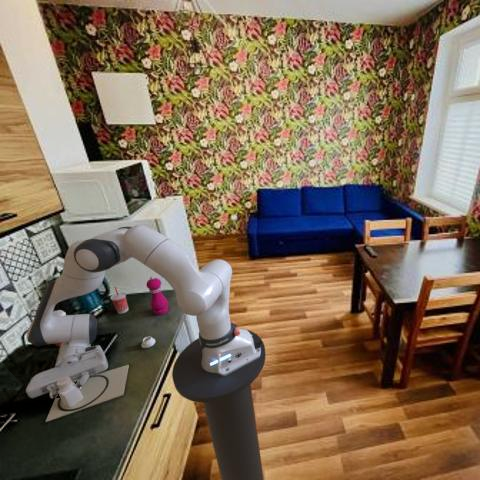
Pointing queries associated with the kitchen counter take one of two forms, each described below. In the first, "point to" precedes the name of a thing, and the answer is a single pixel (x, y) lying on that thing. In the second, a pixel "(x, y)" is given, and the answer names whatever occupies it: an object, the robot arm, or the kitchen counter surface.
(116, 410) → the kitchen counter surface
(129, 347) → the kitchen counter surface
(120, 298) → the beverage cup
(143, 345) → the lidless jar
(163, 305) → the pepper mill
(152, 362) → the kitchen counter surface
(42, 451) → the kitchen counter surface
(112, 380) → the drawing sheet
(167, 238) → the robot arm
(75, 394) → the pepper shaker
